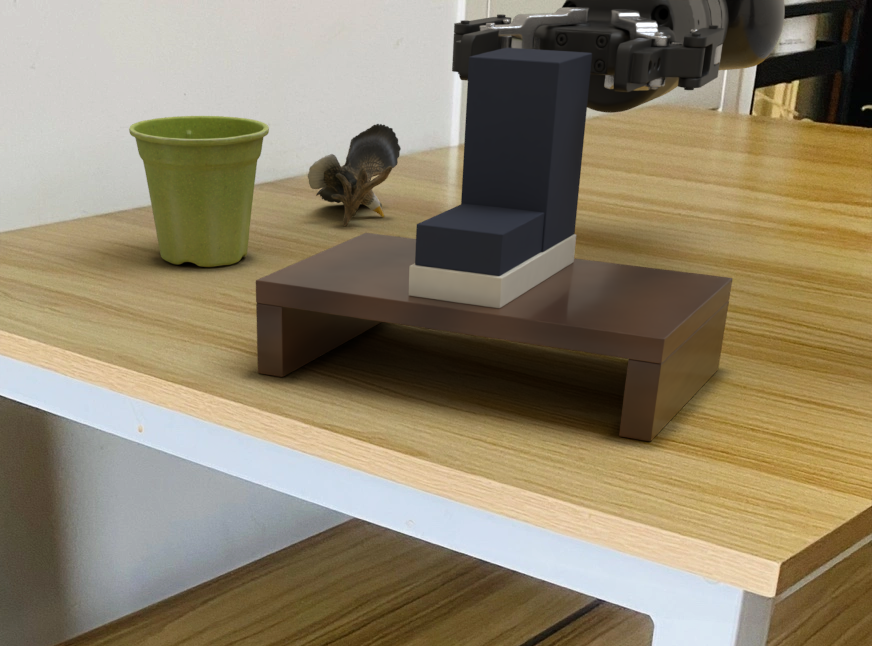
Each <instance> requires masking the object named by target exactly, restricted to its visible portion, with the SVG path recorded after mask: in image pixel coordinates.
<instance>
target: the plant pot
mask: <svg viewBox="0 0 872 646" xmlns="http://www.w3.org/2000/svg"><path fill="white" fill-rule="evenodd" d="M128 131H129V135H130V136H132V137H133V138H134V139H135V144H136V147H137V152H138V155H139V157H140V159H141V161H142V162H143V167H144V173H145V177H146V183H147V188H148V194H149V200H150V204H151V209H152V213H153V214H152V216H153V221H154V228H155V233H156V238H157V243H158V248H159V253H160V257H161V259H162V260H163V261H166V262H168V263H170V264H173V265H182V264H184V263H192V264H195V265H196V266H198V267H204V268H214V267H217V266H218V267H219V266H230V265H234V264H236V263H238V262H240V261H241V259H242V258H243V257H247V255H248V248H249V240H250V239H249V238H250V229H251V221H252V219H251V218H252V211H253V201H254V194H255V193H254V192H255V185H256V184H255V183H256V176H257V175H256V174H257V166H258V160H259V159H260V157H261V154H262V151H263V143H264V138H265V137H266V136H267V135H268V134H269V132H270V127H269V125H268V124H267V123H265V122H263V121H261V120H256V119H251V118H246V117H238V116H224V115H181V116H179V115H178V116H168V117H167V116H165V117H158V118H157V117H156V118H151V119H145V120H141V121H137V122H134V123H133V124H130V126H129V128H128Z"/></svg>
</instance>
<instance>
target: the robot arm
mask: <svg viewBox="0 0 872 646" xmlns="http://www.w3.org/2000/svg"><path fill="white" fill-rule="evenodd" d="M784 22H785V0H565V1H564V3H563V4H562V6H561V7H559V8H558V9H557V10H556V11H554V12H546V13H545V12H539V13H518V14H516V15H515V16H514V17H513V19H512V17H510V16H506V14H503V13H500V14H496V16H492V17H491V16H490V17H483V18H479V19H478V18H477V19H472V20H467V19H466V20H465V19H464V20H460V22H455V23H453V41H452V62H451V72H453V73H457V75H458V76H459V79H460V81H467V82H468V68H469V57H470V56H474V55H478V54H482V53H487V52H491V51H495V50H499V49H503V48H520V49H537V50H553V51H569V52H585V53H592V60H591V71H590V81H589V91H588V101H587V109H589V110H592V111H596V112H600V113H605V114H607V113H608V114H609V113H610V114H611V113H613V114H614V113H621V112H625V111H629V110H632V109H634V108H637V107H639V106H642V105H644V104H647V103H648V102H651V101H653V100H655V99H658V98H661V97H662V96H665V95H667V94H668V93H670V92H672V91H674V90H675V89H676V88H683V90H684V91H694V90H695V89H700V88H702V87H703V86H705V85H707V84H708V83H710V82H712V81H714V80H716V79H717V78H718V77H719V71H731V70H743V69H748V68H752V67H753V68H754V67H756V66H758V65H760V64H762V63H763V62H764V61H765V60H766V59H768V58H769V56H770V55H771V54H772V52H773V51H774V49H775V48H776V46H777V43H778V42H779V40H780V37H781V35H782V31H783V28H784Z"/></svg>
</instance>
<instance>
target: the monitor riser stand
mask: <svg viewBox="0 0 872 646" xmlns="http://www.w3.org/2000/svg"><path fill="white" fill-rule="evenodd" d="M415 251H416V238H411V237H404V236H397V235H388V234H379V233H371V232H364V233H362V234H360V235H357V236H355V237H352V238H350V239H348V240H345V241H343V242H341V243H338V244H337V245H334V246H331V247H329V248H327V249H325V250H322V251H320V252H318V253H316V254H313V255H311V256H309V257H306V258H304V259H301V260H300V261H296V262H295V263H293V264H290V265H288V266H286V267H283V268H281V269H279V270H276V271H274V272H272V273H269V274H268V275H264V276H262V277H260V278H258V279H255V302H256V303H255V307H256V311H255V312H256V352H257V353H256V355H257V356H256V359H257V374H261V375H266V376H272V377H279V378H283V377H286V376H287V375H289V374H291V373H293V372H294V371H296V370H298V369H301V368H302V367H304V366H305V365H307V364H309V363H311V362H313V361H315V360H316V359H318V358H320V357H322V356H323V355H325V354H327V353H329V352H331V351H333V350H334V349H337V348H338V347H340V346H342V345H343V344H346V343H347V342H349V341H351V340H352V339H354V338H356V337H358V336H360V335H361V334H363V333H365V332H367V331H369V330H370V329H372V328H374V327H376V326H378V325H380V324H381V323H387V324H393V325H394V324H395V325H400V326H407V327H412V328H413V327H414V328H421V329H427V330H434V331H441V332H446V333H452V334H460V335H466V336H473V337H480V338H485V339H486V338H487V339H492V340H500V341H507V342H514V343H519V344H526V345H534V346H540V347H545V348H551V349H559V350H565V351H572V352H579V353H585V354H591V355H592V354H593V355H599V356H606V357H613V358H620V359H626V360H627V367H626V376H625V382H624V390H623V391H624V392H623V398H622V399H623V400H622V408H621V416H620V424H619V433H618V436H619V437H622V438H628V439H634V440H637V441H638V440H639V441H645V442H652V441H653V440H654V439H655V437H656V436H657V435H658V434H659V433H660V432H661V431H662V430H663V429H664V428H665V427H666V426H667V425H668V423H670V422H671V420H672V419H673V418H674V417H675V416H676V415H677V414H678V413H679V412H680V411H681V410H682V409H683V408H684V407H685V406H686V405H687V404H688V403H689V401H690V400H691V399H692V398H693V397H694V396H695V394H697V393H698V392H699V391H700V389H702V387H703V386H704V385H705V384H706V383H708V381H709V380H710V379H711V378H712V377H713V376H714V375H715V374H716V372H718V370H719V367H720V361H721V355H722V348H723V341H724V336H725V329H726V322H727V317H728V312H729V311H728V310H729V305H730V297H731V291H732V285H733V277H729V276H721V275H711V274H703V273H695V272H689V271H688V272H687V271H679V270H673V269H672V270H670V269H662V268H655V267H646V266H640V265H639V266H638V265H630V264H623V263H615V262H607V261H606V262H605V261H599V260H592V259H591V260H590V259H581V258H575V257H574V262H573V263H571V264H570V265H568V266H567V267H565V268H564V269H562V270H560V271H559V272H557V273H556V274H554V275H552V276H551V277H549V278H548V279H546V280H544V281H543V282H541V283H540V284H538V285H536V286H535V287H533V288H532V289H530V290H528V291H527V292H525V293H524V294H522V295H520V296H519V297H517V298H516V299H514V300H512V301H511V302H509V303H508V304H506V305H504V306H503V307H501V308H492V307H485V306H478V305H471V304H464V303H457V302H450V301H443V300H436V299H429V298H422V297H415V296H409V268H410V265H412V264H414V263H415Z"/></svg>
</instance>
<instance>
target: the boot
mask: <svg viewBox="0 0 872 646" xmlns="http://www.w3.org/2000/svg"><path fill="white" fill-rule="evenodd" d="M591 60H592V53H585V52H569V51H553V50H537V49H520V48H503V49H499V50H495V51H491V52H487V53H482V54H478V55H474V56H470V57H469V68H468V81H467V85H466V86H467V88H466V105H465V106H466V107H465V110H466V111H465V123H464V142H463V143H464V144H463V158H462V159H463V160H462V179H461V199H460V204H459V205H457V206H454V207H452V208H450V209H447V210H445V211H442V212H441V213H439V214H436V215H434V216H432V217H430V218H427V219H425V220H423V221H421V222H418V223H417V224H416V226H415V227H416V228H415V229H416V230H415V239H416V251H415V263H414V264H412V265H410V268H409V296H415V297H422V298H429V299H436V300H443V301H450V302H457V303H464V304H471V305H478V306H485V307H492V308H501V307H503V306H504V305H506V304H508V303H509V302H511V301H512V300H514V299H516V298H517V297H519V296H520V295H522V294H524V293H525V292H527V291H528V290H530V289H532V288H533V287H535V286H536V285H538V284H540V283H541V282H543V281H544V280H546V279H548V278H549V277H551V276H552V275H554V274H556V273H557V272H559V271H560V270H562V269H564V268H565V267H567V266H568V265H570V264H571V263H573V262H574V258H575V254H576V243H577V234H576V223H577V212H578V202H579V194H580V193H579V192H580V184H581V183H580V182H581V171H582V162H583V151H584V143H585V132H586V121H587V120H586V119H587V111H588V108H587V101H588V91H589V81H590V71H591Z"/></svg>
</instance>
